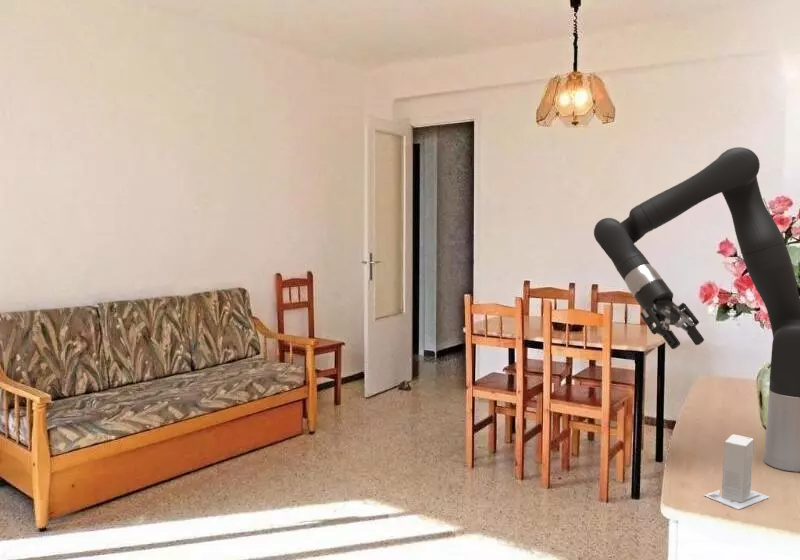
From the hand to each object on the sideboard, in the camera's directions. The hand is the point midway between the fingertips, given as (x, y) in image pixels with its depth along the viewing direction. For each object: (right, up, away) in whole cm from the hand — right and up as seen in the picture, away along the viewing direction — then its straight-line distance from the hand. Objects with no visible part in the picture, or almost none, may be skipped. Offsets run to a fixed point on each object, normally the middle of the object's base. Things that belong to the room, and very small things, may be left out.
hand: (688, 345), depth 151 cm
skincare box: (+5, -30, -11) cm, 33 cm away
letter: (+5, -30, -11) cm, 33 cm away
